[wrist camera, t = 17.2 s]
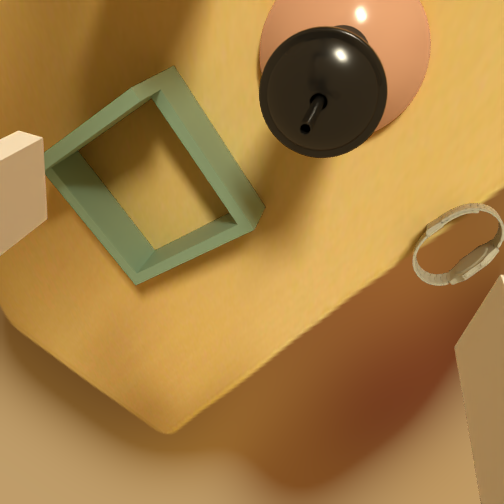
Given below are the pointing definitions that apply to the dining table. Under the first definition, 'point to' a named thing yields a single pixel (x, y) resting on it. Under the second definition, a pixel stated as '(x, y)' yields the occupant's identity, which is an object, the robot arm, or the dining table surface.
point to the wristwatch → (469, 262)
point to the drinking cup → (323, 91)
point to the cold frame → (112, 214)
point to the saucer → (373, 28)
